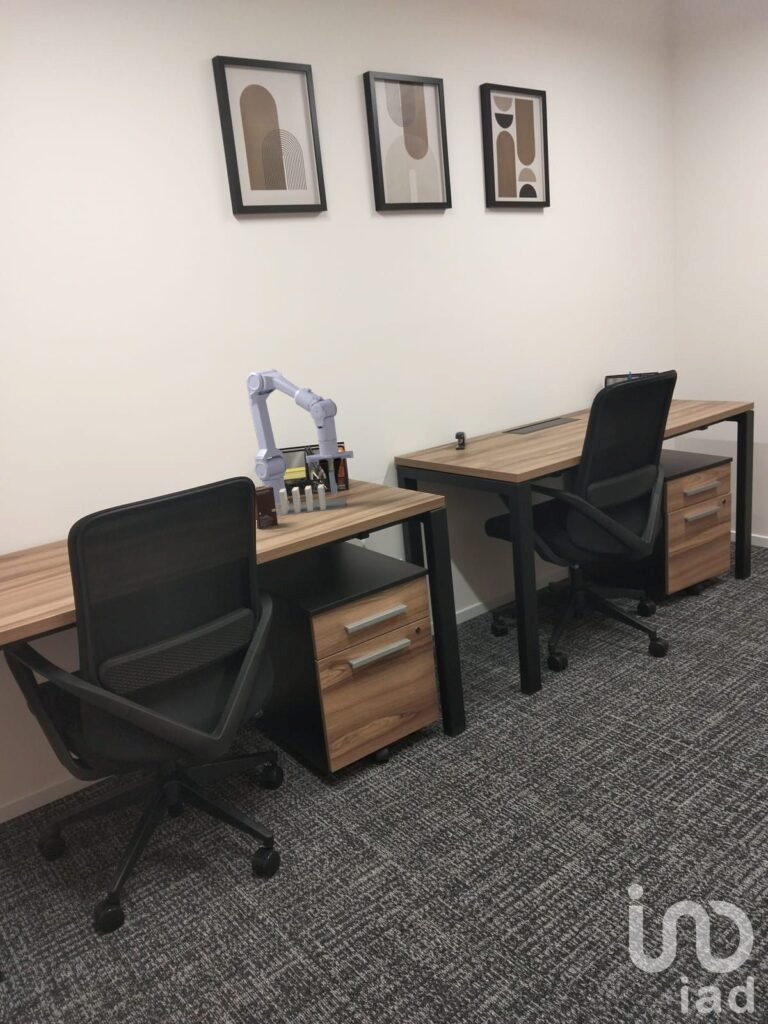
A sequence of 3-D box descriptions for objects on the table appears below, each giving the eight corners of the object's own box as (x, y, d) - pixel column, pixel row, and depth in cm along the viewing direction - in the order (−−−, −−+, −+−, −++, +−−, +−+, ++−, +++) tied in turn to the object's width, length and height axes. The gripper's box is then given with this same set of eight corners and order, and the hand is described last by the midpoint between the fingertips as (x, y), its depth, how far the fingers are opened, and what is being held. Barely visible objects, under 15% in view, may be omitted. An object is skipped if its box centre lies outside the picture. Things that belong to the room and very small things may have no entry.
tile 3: (307, 511, 228) (304, 489, 227) (309, 507, 233) (306, 486, 232) (312, 510, 228) (309, 488, 227) (314, 507, 233) (311, 485, 232)
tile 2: (295, 512, 228) (291, 490, 227) (296, 509, 233) (293, 487, 232) (300, 512, 228) (296, 490, 227) (301, 508, 233) (298, 486, 232)
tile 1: (282, 514, 228) (278, 492, 227) (284, 510, 233) (280, 488, 232) (287, 513, 228) (284, 491, 227) (289, 509, 233) (285, 488, 232)
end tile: (331, 495, 227) (328, 472, 226) (332, 491, 232) (329, 470, 231) (336, 494, 227) (333, 472, 226) (337, 491, 232) (334, 469, 230)
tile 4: (320, 509, 228) (317, 487, 227) (321, 506, 233) (318, 484, 232) (325, 509, 228) (322, 487, 227) (326, 505, 233) (323, 484, 232)
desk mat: (274, 517, 227) (274, 516, 227) (280, 506, 242) (280, 505, 242) (345, 509, 227) (345, 508, 227) (347, 498, 241) (346, 497, 241)
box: (260, 531, 213) (254, 490, 210) (254, 528, 216) (248, 488, 213) (279, 526, 216) (273, 486, 213) (273, 523, 219) (267, 484, 216)
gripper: (302, 444, 222) (309, 488, 225) (350, 438, 222) (356, 482, 225) (305, 441, 229) (310, 483, 232) (351, 435, 229) (356, 478, 232)
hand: (333, 482), depth 229 cm, fingers closed on end tile, 1 cm apart
